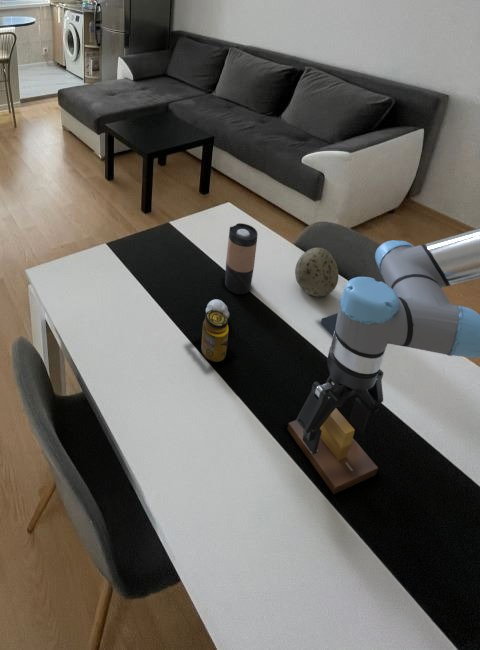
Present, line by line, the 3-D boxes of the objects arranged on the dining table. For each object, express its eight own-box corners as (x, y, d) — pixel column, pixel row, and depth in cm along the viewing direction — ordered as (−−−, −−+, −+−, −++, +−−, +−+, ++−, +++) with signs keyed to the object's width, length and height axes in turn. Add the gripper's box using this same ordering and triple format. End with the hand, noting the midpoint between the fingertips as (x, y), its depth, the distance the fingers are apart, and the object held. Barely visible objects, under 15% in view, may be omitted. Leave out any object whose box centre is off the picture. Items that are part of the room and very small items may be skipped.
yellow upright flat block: (347, 456, 82) (355, 429, 79) (338, 460, 82) (345, 433, 79) (324, 428, 87) (331, 401, 84) (315, 432, 87) (322, 405, 84)
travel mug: (251, 298, 123) (258, 241, 115) (223, 292, 125) (228, 237, 118) (250, 279, 129) (257, 225, 122) (224, 274, 132) (229, 221, 124)
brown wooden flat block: (375, 475, 81) (378, 467, 80) (333, 495, 79) (335, 486, 78) (325, 415, 92) (327, 406, 91) (286, 430, 90) (288, 422, 89)
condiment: (233, 358, 106) (237, 322, 101) (206, 372, 103) (209, 336, 98) (213, 336, 112) (216, 301, 107) (187, 349, 109) (189, 313, 104)
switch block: (378, 347, 106) (381, 335, 105) (352, 356, 104) (355, 344, 103) (344, 316, 115) (347, 305, 114) (320, 324, 113) (322, 313, 112)
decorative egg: (343, 300, 120) (353, 258, 115) (310, 309, 118) (319, 266, 112) (314, 274, 130) (322, 234, 124) (284, 282, 128) (290, 241, 122)
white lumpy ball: (204, 329, 114) (206, 310, 111) (205, 309, 120) (206, 290, 117) (228, 334, 112) (230, 314, 110) (227, 313, 118) (229, 294, 116)
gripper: (385, 322, 82) (363, 399, 90) (284, 357, 76) (270, 436, 84) (425, 355, 75) (397, 435, 83) (317, 397, 69) (298, 478, 78)
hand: (333, 436), depth 84 cm, fingers open, 11 cm apart
